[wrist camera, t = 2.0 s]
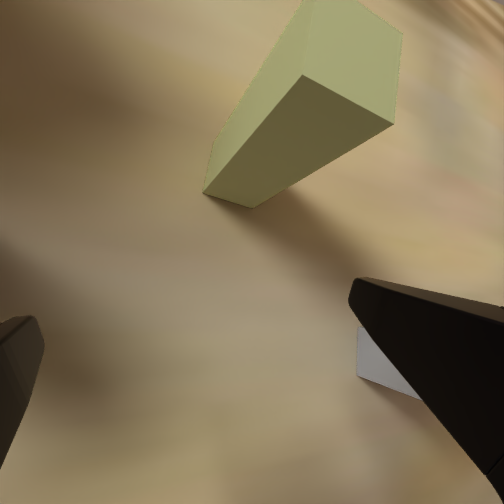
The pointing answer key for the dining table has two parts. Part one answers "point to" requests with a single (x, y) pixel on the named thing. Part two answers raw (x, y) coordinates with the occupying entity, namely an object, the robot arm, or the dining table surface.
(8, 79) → the dining table surface
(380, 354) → the grey pillar
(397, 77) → the olive pillar
